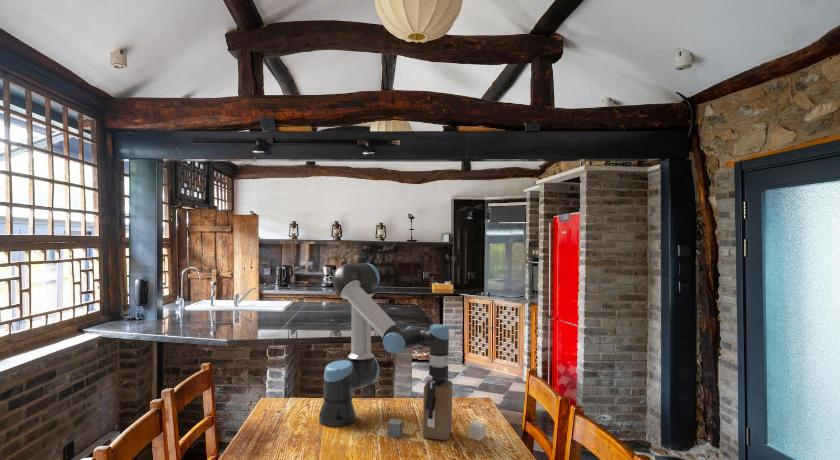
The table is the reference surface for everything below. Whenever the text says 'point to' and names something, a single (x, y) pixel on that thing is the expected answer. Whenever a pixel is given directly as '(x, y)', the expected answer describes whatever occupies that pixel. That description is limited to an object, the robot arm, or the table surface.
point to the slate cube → (395, 427)
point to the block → (439, 412)
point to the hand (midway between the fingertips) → (437, 421)
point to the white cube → (477, 430)
